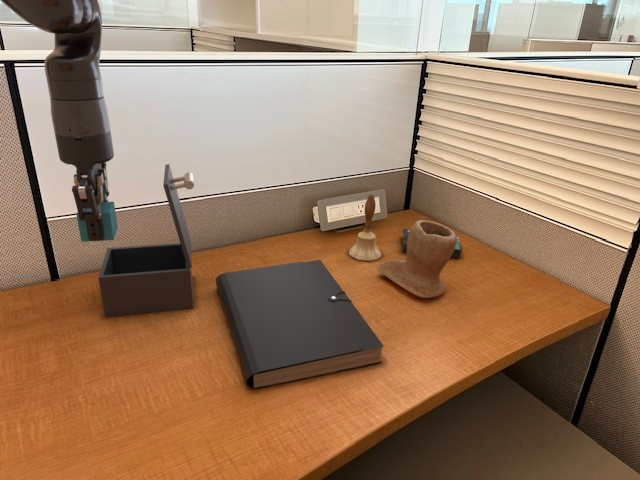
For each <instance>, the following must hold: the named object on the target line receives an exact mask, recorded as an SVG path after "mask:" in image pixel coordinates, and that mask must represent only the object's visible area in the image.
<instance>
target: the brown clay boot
mask: <svg viewBox="0 0 640 480" xmlns="http://www.w3.org/2000/svg"><path fill="white" fill-rule="evenodd" d="M409 229H410V231H409V234H408V240H407V253H406V260H405V259H404V260H400V259H389V260H385V261H384V262H382V263H380V264H378V266H377V268H376V270H377V271H378V272H379V273H380V274H382V275H384V276H385V277H387V278H388V279H389V280H390V281H392V282H393V283H395V284H396V285H398V286H399V287H401V288H402V289H404V290H405V291H407V292H409V293H411V294H413V295H414V296H416V297H418V298H420V299H432V298H436V297H439V296H441V295H443V294H444V293H445V292H446V290H447V285H446V284H445V283H444V282H443V281H442V279H441V273H442V271H443V270H444V268H445V267H446V265H447V263H448V262H449V261H450V259H451V258H452V257H451V255H452V253H453V251H454V249H455V246H456V235H457V234H456V233H455V231H454V230H453V229H451V228H450V227H447V226H446V225H444V224H441V223H438V222H435V221H431V220H425V219H420V220H417V221H415V222H414V223H413V224H412V225H411V227H409Z"/></svg>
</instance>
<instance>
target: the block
mask: <svg viewBox="0 0 640 480" xmlns="http://www.w3.org/2000/svg"><path fill="white" fill-rule="evenodd" d="M100 206H101V214H102V217H101V219H102V225H103V231H104V239H103V240H102V241H101V242H104V241H105V242H106V241H115V237H116V235H117V231H118V228H119V225H118V221H117V212H116V206H115V201H108V202H103V203H102V204H101V205H100ZM87 212H92V209H91V208H87ZM76 221H77V226H78V231H79V236H80V242H82V243H85V242H86V243H87V242H91V241H90V240H89V238H88V233H87V227H86V221H85V220H83V221H81V220H80V218H79V214H78V211H77V212H76Z"/></svg>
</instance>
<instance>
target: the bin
mask: <svg viewBox="0 0 640 480" xmlns="http://www.w3.org/2000/svg"><path fill="white" fill-rule="evenodd" d="M97 279H98V285H99V289H100V290H99V291H100V295H101V296H100V297H101V302H102V307H103V312H104V317H106V318H107V317H108V318H109V317H118V316H119V317H120V316H129V315H137V314H138V315H139V314H147V313H155V312H157V313H158V312H165V311H166V312H168V311H176V310H186V309H187V310H188V309H193V308H194V292H193V291H194V289H193V287H194V286H193V272H192V267H191V268H188V267H187V263H186V260H185V257H184V253H183V250H182V247H181V243H180V242H176V243H164V244H163V243H162V244H149V245H147V244H146V245H134V246H119V247H107V248H106V251H105V254H104V257H103V261H102V264H101V268H100V271H99V274H98V277H97Z"/></svg>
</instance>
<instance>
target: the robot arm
mask: <svg viewBox="0 0 640 480" xmlns="http://www.w3.org/2000/svg"><path fill="white" fill-rule="evenodd" d="M0 2H1V3H2V4H3V5H4V6H6V7H7V8H8V9H10V10H11V11H12V12H13V13H15V14H16V16H18V17H19V18H21V19H22V20H23V21H24V22H26V23H28V24H30V26H33V27H34V28H36V29H39V30H41V31H43V32H45V33H49V34H53V35H54V48H53V50H52V51H51V52H50V53H49V54H47V56H46V57H45V59H44V64H43V65H44V73H45V77H46V84H47V89H48V94H49V100H50V101H49V102H50V116H51V121H52V126H53V131H54V137H55V138H54V139H55V143H56V147H57V152H58V158H59V160H60V162H62V163H63V164H65V165H70V166H71V165H72V166H73V167H75V172H76V173H75V174H73V184H74V185H72V186H71V187H72V188H71V192H72V195H73V197H74V198H73V199H74V202H75V206H76V210H77V212H78V214H79V218H80V220H81V221H83V220H85V221H86V227H87V233H88V238H89V240H90V241H89V242H103V241H102V240H103V239H104V231H103V225H102V219H101V217H102V214H101V206H100V205H101V204H102V203H103V202H109V199H108V198H109V196H110V191H109V184H108V173H107V162H110V161H111V160H112V159H113V158H114V157H115V154H114V153H115V152H114V145H113V139H112V131H111V124H110V118H109V117H110V116H109V112H108V107H107V104H106V100H105V93H104V88H103V80H102V74H101V70H100V59H101V51H102V38H103V37H102V36H103V35H102V33H103V18H102V17H103V16H102V10H101V7H100V2H99V0H0ZM87 208H91V209H92V212H87Z"/></svg>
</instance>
